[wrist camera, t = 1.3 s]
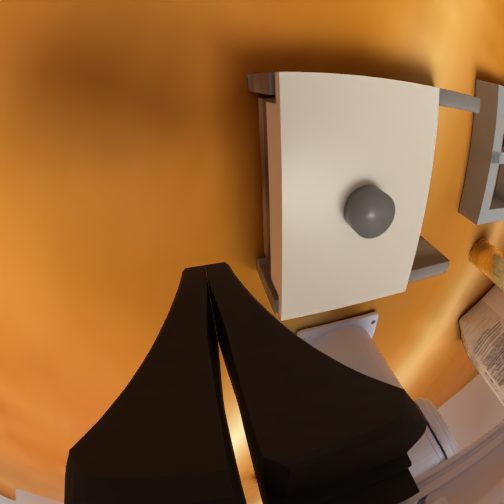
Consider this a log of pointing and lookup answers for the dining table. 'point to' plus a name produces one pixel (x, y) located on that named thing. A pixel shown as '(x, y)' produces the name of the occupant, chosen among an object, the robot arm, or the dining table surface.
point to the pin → (488, 261)
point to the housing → (426, 255)
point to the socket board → (485, 158)
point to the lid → (346, 186)
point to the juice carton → (486, 338)
